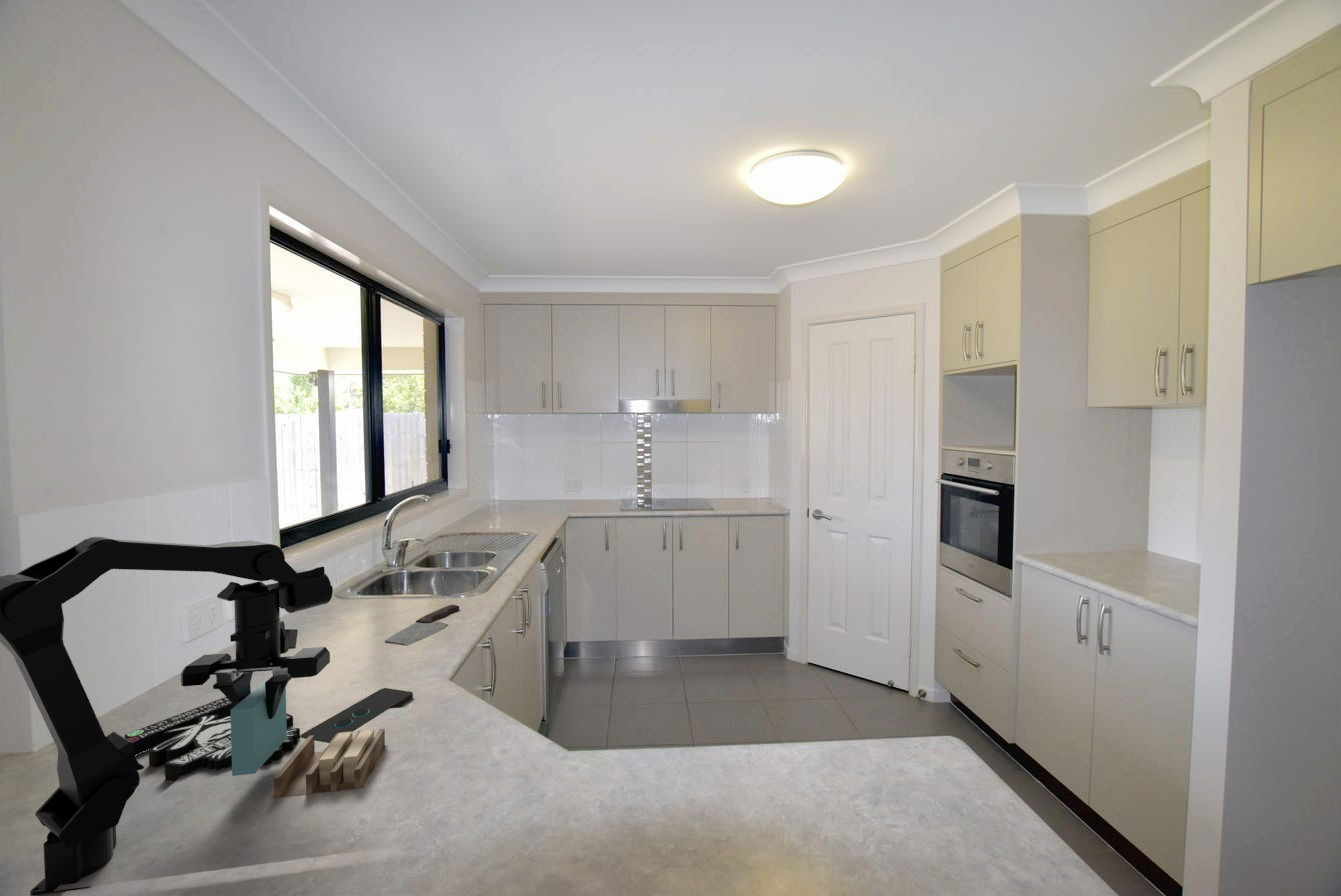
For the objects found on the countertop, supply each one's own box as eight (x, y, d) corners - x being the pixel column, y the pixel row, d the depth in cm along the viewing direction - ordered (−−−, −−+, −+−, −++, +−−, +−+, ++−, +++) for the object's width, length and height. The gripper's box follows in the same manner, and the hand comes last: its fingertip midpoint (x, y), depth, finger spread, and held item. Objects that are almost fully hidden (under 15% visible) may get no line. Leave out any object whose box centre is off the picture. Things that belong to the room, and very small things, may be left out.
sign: (234, 693, 115) (328, 726, 102) (235, 707, 115) (328, 742, 102) (110, 739, 98) (203, 786, 85) (111, 756, 98) (204, 806, 85)
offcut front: (357, 781, 89) (356, 756, 88) (343, 782, 88) (342, 757, 88) (374, 752, 96) (373, 729, 96) (361, 753, 96) (361, 730, 96)
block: (254, 773, 85) (253, 708, 85) (232, 775, 84) (230, 710, 84) (286, 738, 95) (285, 679, 94) (266, 739, 94) (265, 680, 94)
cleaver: (444, 609, 177) (444, 603, 177) (473, 611, 176) (473, 604, 175) (380, 646, 148) (380, 638, 148) (414, 649, 147) (414, 641, 147)
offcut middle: (333, 783, 88) (333, 758, 88) (319, 785, 88) (319, 759, 87) (352, 754, 96) (352, 731, 96) (339, 755, 95) (339, 732, 95)
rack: (363, 794, 87) (362, 768, 87) (271, 804, 85) (270, 778, 84) (387, 750, 99) (387, 728, 99) (307, 758, 96) (306, 735, 96)
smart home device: (297, 735, 102) (382, 686, 121) (297, 744, 102) (382, 694, 121) (333, 742, 99) (414, 691, 118) (333, 751, 99) (415, 699, 118)
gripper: (342, 602, 99) (343, 690, 99) (221, 609, 95) (223, 700, 96) (314, 624, 88) (316, 722, 88) (176, 632, 84) (179, 735, 85)
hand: (260, 718), depth 89 cm, fingers closed on block, 3 cm apart
